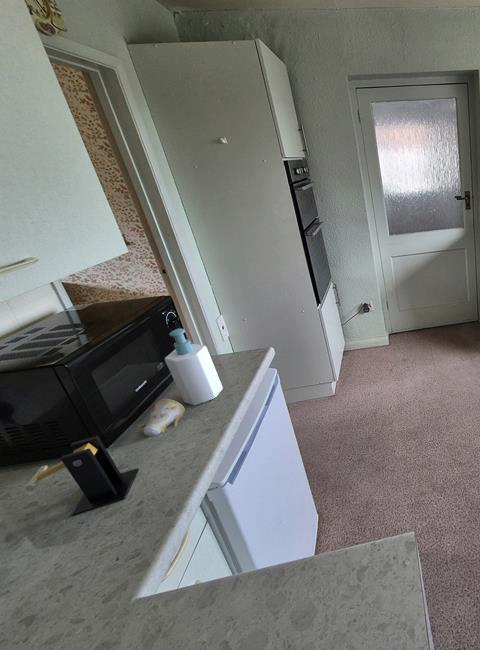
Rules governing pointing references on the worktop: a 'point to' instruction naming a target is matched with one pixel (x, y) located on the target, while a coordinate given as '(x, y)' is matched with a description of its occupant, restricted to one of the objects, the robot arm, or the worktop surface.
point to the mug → (163, 416)
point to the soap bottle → (193, 370)
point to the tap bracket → (97, 476)
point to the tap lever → (52, 469)
